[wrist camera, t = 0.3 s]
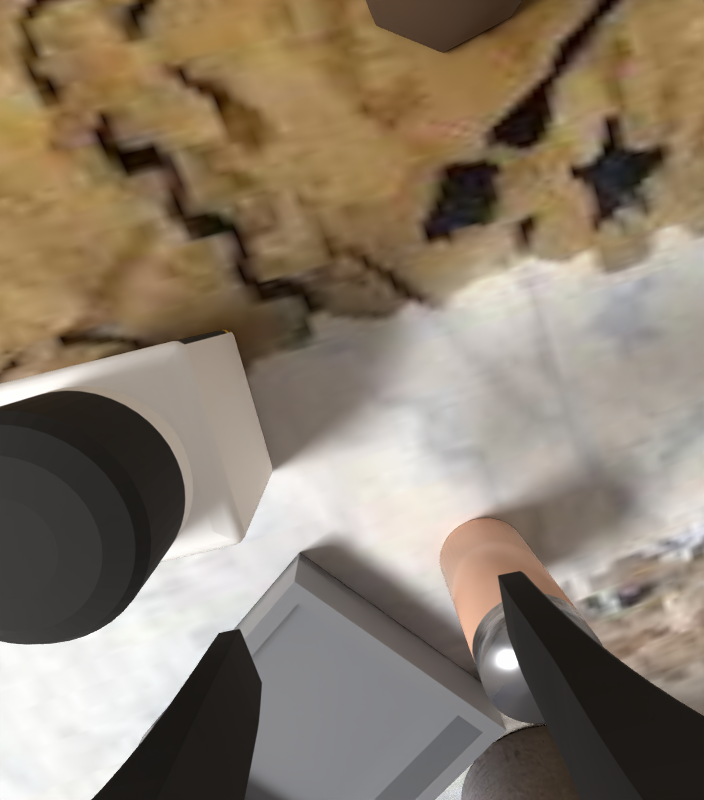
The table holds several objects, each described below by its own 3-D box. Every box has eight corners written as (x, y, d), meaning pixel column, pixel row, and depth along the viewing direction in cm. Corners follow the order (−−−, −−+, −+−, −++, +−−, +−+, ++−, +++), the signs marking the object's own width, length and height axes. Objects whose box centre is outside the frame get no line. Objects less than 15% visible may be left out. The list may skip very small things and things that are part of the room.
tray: (329, 850, 28) (328, 903, 25) (143, 736, 26) (121, 781, 23) (490, 689, 26) (506, 730, 23) (299, 552, 24) (294, 581, 21)
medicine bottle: (233, 327, 21) (99, 357, 10) (275, 471, 23) (202, 650, 11) (84, 364, 22) (-224, 437, 10) (134, 505, 23) (-83, 714, 11)
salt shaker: (486, 612, 25) (546, 743, 17) (422, 564, 24) (456, 680, 17) (544, 551, 24) (632, 662, 17) (479, 501, 23) (542, 592, 16)
